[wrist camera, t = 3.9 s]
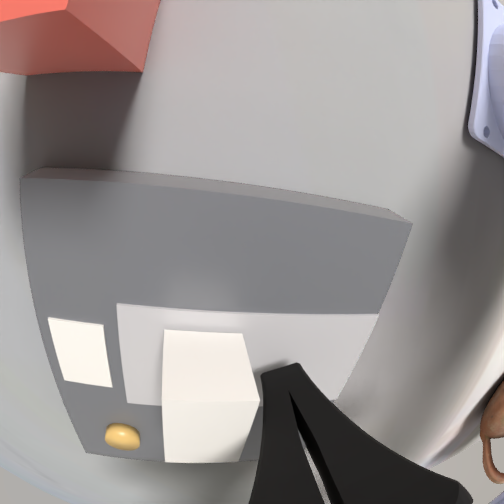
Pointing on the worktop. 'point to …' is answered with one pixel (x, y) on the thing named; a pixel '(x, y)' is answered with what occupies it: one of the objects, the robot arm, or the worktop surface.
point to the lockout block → (75, 35)
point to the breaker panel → (194, 287)
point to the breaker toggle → (206, 396)
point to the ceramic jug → (492, 432)
